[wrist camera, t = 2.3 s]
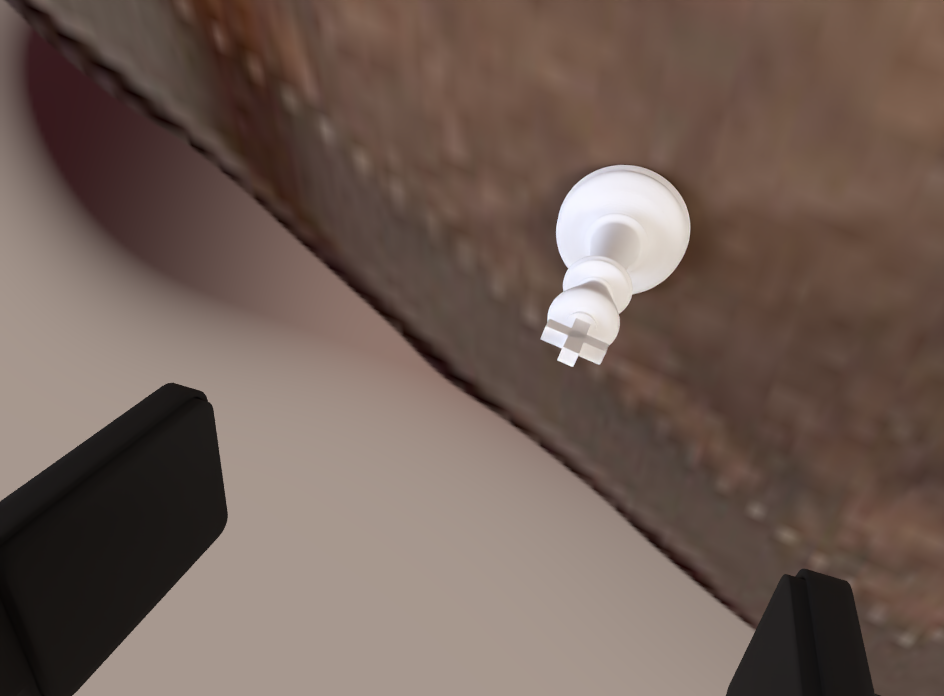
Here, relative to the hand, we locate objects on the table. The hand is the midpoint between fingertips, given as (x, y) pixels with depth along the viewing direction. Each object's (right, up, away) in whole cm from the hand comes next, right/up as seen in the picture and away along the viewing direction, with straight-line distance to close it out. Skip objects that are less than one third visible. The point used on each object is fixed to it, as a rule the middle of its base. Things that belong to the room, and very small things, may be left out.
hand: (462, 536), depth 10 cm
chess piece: (+6, +8, +14) cm, 17 cm away
